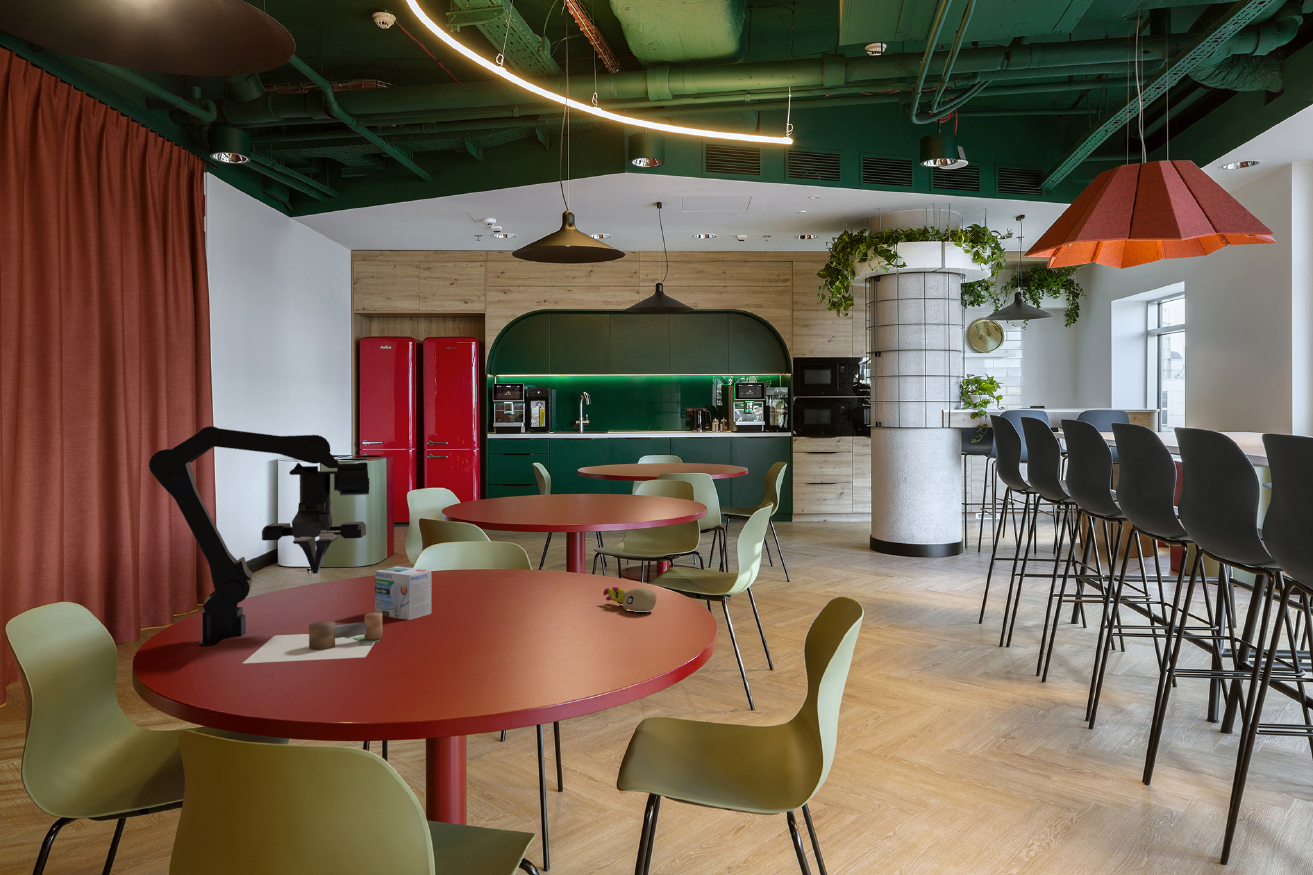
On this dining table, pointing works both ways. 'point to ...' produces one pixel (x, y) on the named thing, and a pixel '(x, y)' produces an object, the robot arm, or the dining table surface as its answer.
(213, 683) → the dining table surface
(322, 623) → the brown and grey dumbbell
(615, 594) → the toy
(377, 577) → the light bulb box
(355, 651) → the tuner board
